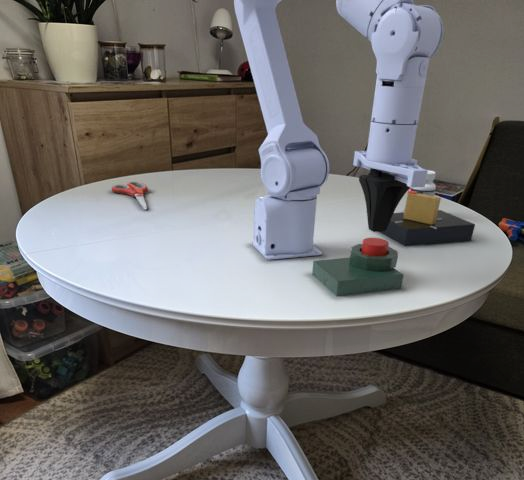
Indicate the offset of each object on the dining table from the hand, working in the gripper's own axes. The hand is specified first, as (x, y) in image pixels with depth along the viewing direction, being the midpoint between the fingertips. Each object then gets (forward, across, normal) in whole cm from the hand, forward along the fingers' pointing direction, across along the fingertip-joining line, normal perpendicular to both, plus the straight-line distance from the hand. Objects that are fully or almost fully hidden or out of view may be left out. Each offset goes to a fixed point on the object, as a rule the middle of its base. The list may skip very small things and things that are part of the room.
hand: (377, 230), depth 67 cm
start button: (+3, 0, 0) cm, 3 cm away
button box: (+7, -1, +3) cm, 8 cm away
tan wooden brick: (+4, +15, -18) cm, 24 cm away
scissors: (+7, +55, +26) cm, 61 cm away
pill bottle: (+7, +28, -27) cm, 39 cm away
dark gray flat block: (+7, +16, -20) cm, 26 cm away
